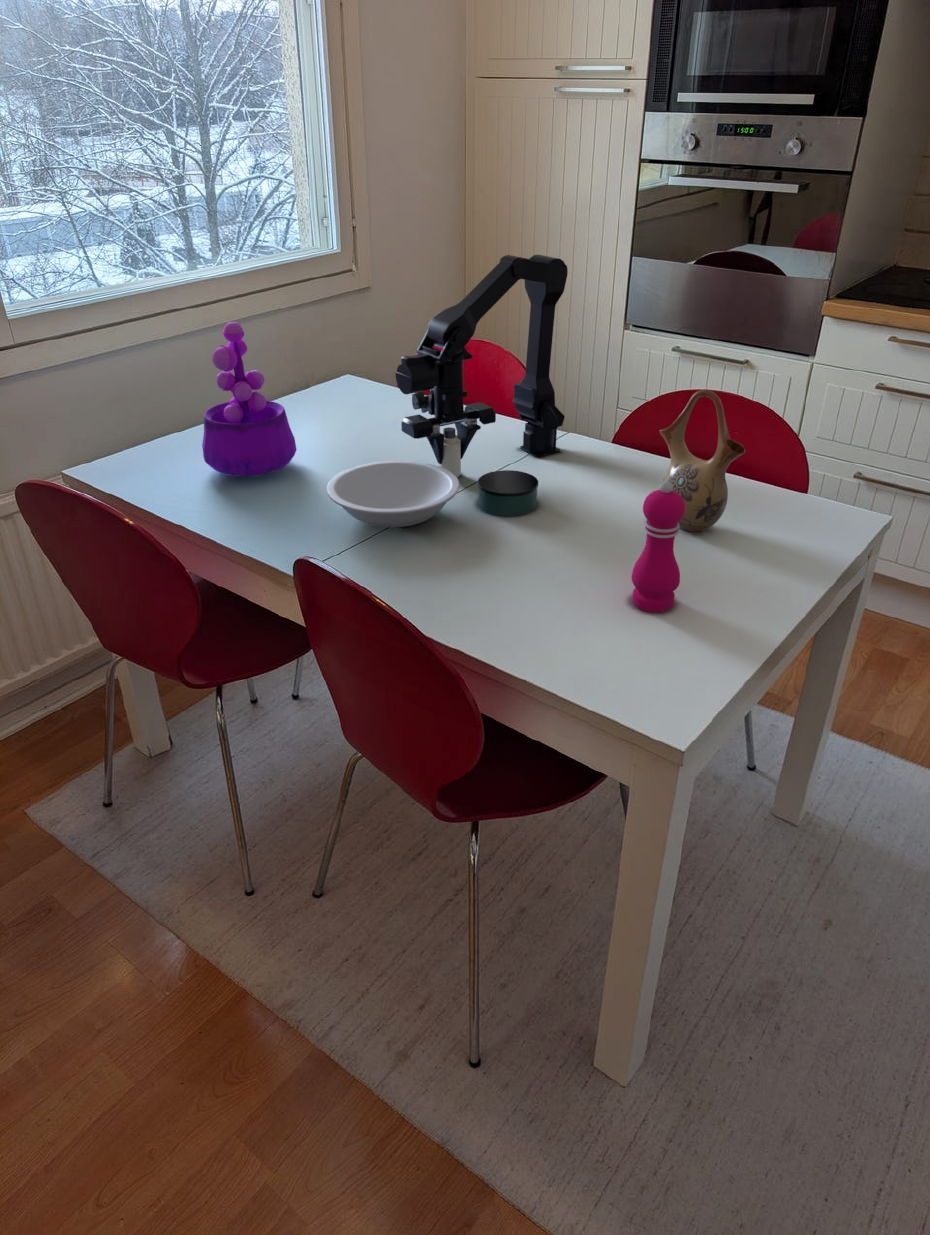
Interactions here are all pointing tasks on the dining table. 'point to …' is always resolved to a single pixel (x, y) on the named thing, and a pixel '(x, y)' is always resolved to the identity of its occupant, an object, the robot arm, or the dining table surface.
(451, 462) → the bottle
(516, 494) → the enamel tin
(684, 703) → the dining table surface
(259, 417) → the decorative plant
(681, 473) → the ceramic vessel
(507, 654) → the dining table surface
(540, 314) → the robot arm
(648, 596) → the pepper mill
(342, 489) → the soup bowl
